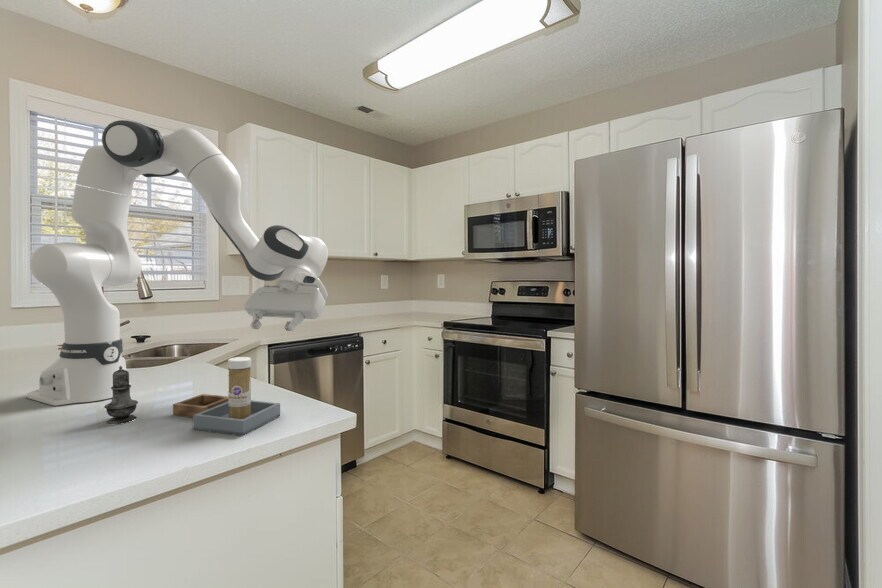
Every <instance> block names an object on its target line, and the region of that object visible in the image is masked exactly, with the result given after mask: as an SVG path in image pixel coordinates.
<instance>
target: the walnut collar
mask: <svg viewBox="0 0 882 588" xmlns="http://www.w3.org/2000/svg"><path fill="white" fill-rule="evenodd" d="M226 402H228V396H227V395H219V394H218V395H217V394H208V393H202V394H200V395H196V396H193V397H190V398H187V399H185V400H182V401H179V402H176V403H173V404H172V415H173V416H178V417H187V418H193V419H194V417H193V415H195V414H198V413H200V412H203V411H205V410H208V409H211V408H213V407H216V406H218V405H221V404H223V403H226ZM203 405H206V406H203Z"/></svg>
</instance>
